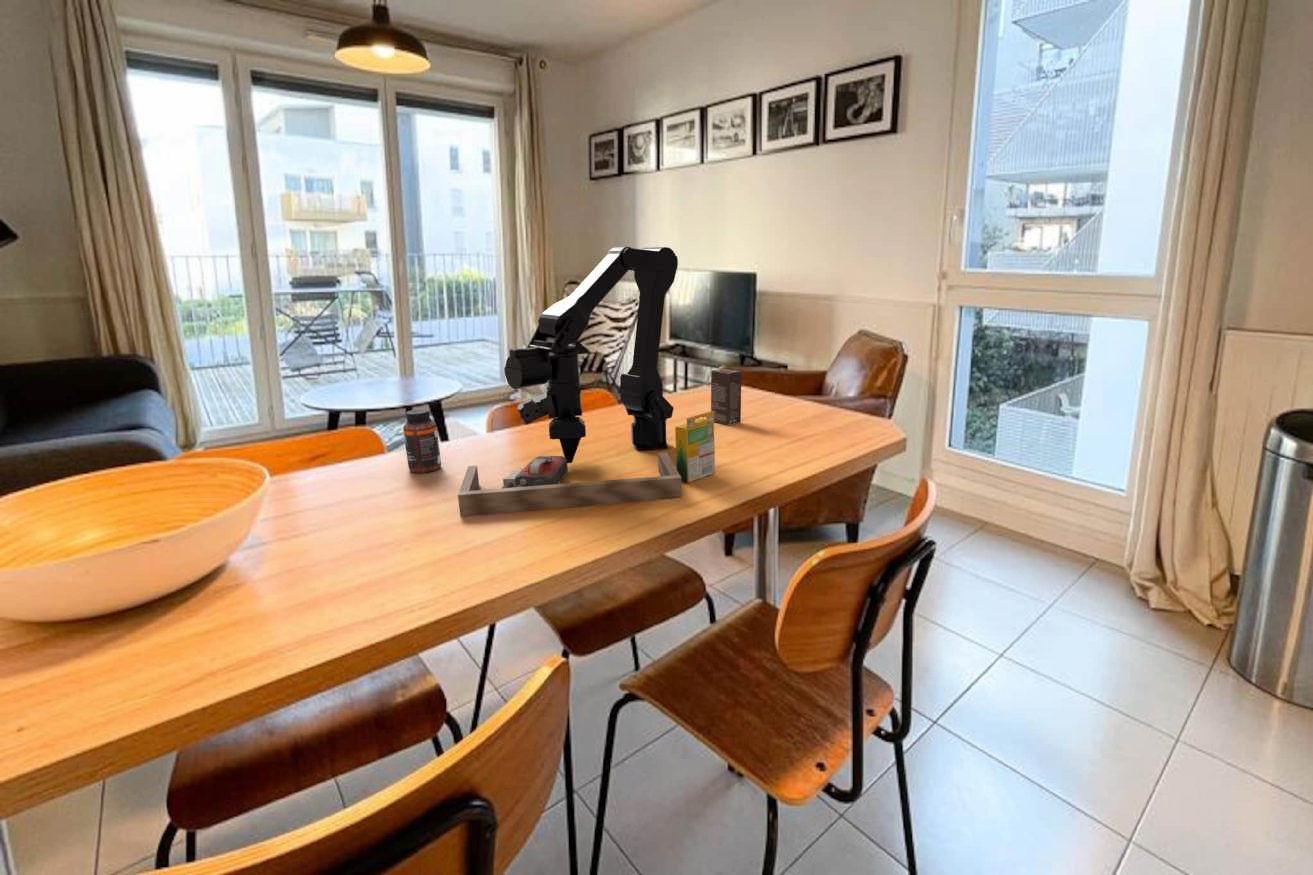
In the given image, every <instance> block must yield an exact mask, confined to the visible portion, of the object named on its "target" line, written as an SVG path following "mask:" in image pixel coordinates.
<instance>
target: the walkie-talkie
mask: <svg viewBox="0 0 1313 875" xmlns="http://www.w3.org/2000/svg"><path fill="white" fill-rule="evenodd" d="M568 471H569V469H568V463H567V459H566V458H565V457H564V455H563V456H562V455H539V456H537V457H534V458H533V459H532V460H531V461H529V462H528V463H527V465H525V467H524V468H518V469H515V470H512V471H511V472H510V473H509V474H508V475H507V476H506V477H504V478H503V479H502V483H503V484H502V487H501V488H514V487H528V486H541V485H554V484H560V482H561V481H562V480H563V478H564V477H565V476H566V475H567V474H568Z"/></svg>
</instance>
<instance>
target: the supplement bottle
mask: <svg viewBox="0 0 1313 875" xmlns="http://www.w3.org/2000/svg"><path fill="white" fill-rule="evenodd" d="M406 419H407V421H406V423H405V424H404V425H403V427H402V430H403V438H404V439H403V440H404V445H405V453H406V460H407V466H408V470H409V471H410V472H412V473H416V474H417V473H418V474H424V473H430V472H431V473H432V472H433V471H436V470H438V469H440V468H441V466H442V459H441V452H440V445H439V444H440V442H439V435H438V429H437V428H438V427H437V424H436V422H435V421H434V420H432V419H431V415H430V410H429V409H426V408H415V409H412V410H407V412H406Z"/></svg>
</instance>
